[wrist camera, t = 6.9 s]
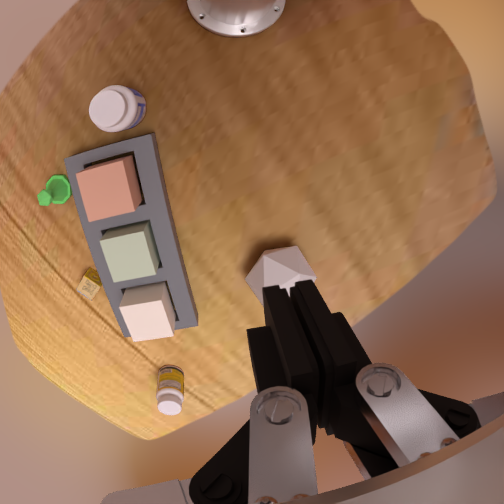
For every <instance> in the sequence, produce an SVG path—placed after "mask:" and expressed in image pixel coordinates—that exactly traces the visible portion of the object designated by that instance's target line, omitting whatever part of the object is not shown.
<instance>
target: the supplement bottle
mask: <svg viewBox="0 0 504 504" xmlns="http://www.w3.org/2000/svg"><path fill="white" fill-rule="evenodd" d="M156 398H157V401H158V409H159V411H160V412H162V413H163V414H166V415H176V414H178V413H180V411H181V409H182V402H183V400H184V373H183V371H182V370H181V369H180V368H178V367H176V366H172V365H167V366H164V367H162V368H161V369H160V370H159V373H158V382H157V393H156Z"/></svg>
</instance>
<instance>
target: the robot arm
mask: <svg viewBox="0 0 504 504" xmlns="http://www.w3.org/2000/svg"><path fill="white" fill-rule="evenodd" d="M187 4H188V8H189V10H190V13H191V15H192V16H193V18H194V19H195V20H196V21H197V22H198V23H199V24H200V25H201V26H202V27H204V28H205V29H207V30H208V31H210V32H213V33H215V34H218V35H222V36H226V37H247V36H251V35H255V34H257V33H260V32H262V31H264V30H266V29H267V28H269V27H270V26H271V25H272V24H273V23H275V22H276V20H277V19H278V18H279V17H280V15H281V13H282V12H283V9H284V6H285V0H187ZM274 10H277V12H275V11H274ZM200 17H204V19H200ZM241 30H243V31H244V33H241V32H240V31H241ZM262 294H263V304H264V314H265V324H266V326H263V327H257V328H251V329H247V337H248V344H249V350H250V356H251V362H252V367H253V372H254V377H255V382H256V387H257V392H258V395H256V396H255V398H254V399H253V401H252V403H251V408H250V419H249V420H248V421H247V422H246V423H245V424H244V426H242V428H241V429H240V430H239V431H238V432H237V433H236V434H235V435H234V436H233V437H232V438H231V439H230V440H229V441H228V442H227V443H226V444H225V445H224V446H223V447H222V448H221V449H220V450H219V451H218V452H217V453H216V454H215V455H214V456H213V457H212V458H211V459H210V460H209V461H208V462H207V463H206V464H205V465H204V466H203V467H202V468H201V469H200V470H199V471H198V472H197V473H196V474H195V475H194V476H193V478H190V479H186V480H182V481H179V480H178V479H175V480H171V481H167V482H163V483H158V484H154V485H149V486H144V487H139V488H133V489H128V490H122V491H116V492H113V493H110V494H108V495H107V496H106V497H105V498H104V499H103V500H102V503H101V504H504V392H501V393H498V394H494V395H491V396H487V397H483V398H480V399H475V400H472V401H471V402H470V404H466V403H464V402H461V401H458V400H455V399H451V398H447V397H444V396H440V395H437V394H433V393H429V392H427V391H423V390H420V389H417V388H416V387H415V386H414V385H413V384H412V383H411V381H410V380H409V379H408V378H407V377H406V376H405V375H404V373H403V372H402V371H401V370H399V369H398V368H397V367H395V366H393V365H391V364H386V363H374V364H372V363H371V361H370V359H369V358H368V356H367V354H366V352H365V351H364V349H363V347H362V346H361V344H360V342H359V340H358V339H357V337H356V335H355V334H354V332H353V330H352V329H351V327H350V325H349V324H348V322H347V320H346V319H345V317H344V315H343V314H342V313H341V312H337V313H332V314H331V312H330V310H329V309H328V307H327V305H326V303H325V301H324V300H323V298H322V296H321V294H320V293H319V291H318V289H317V287H316V286H315V284H314V282H313V281H312V279H309V280H303V281H297V282H295V286H293V287H290V297H289V295H288V292H287V290H286V288H282V289H280V287H279V285H274V286H268V287H262ZM317 425H318V427H319V428H325V430H326V433H327V435H332V434H334V435H335V437H336V438H338V439H341V440H343V443H344V446H345V448H346V450H347V451H348V453H349V455H350V456H351V458H352V459H353V461H354V463H355V464H356V466H357V468H358V469H359V471H360V473H361V474H362V476H363V477H364V479H365V481H362V482H359V483H355V484H352V485H349V486H346V487H342V488H339V489H336V490H332V491H328V492H324V493H321V494H318V489H317V480H316V473H315V472H316V471H315V463H314V454H313V445H314V443H315V437H316V427H317Z"/></svg>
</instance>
